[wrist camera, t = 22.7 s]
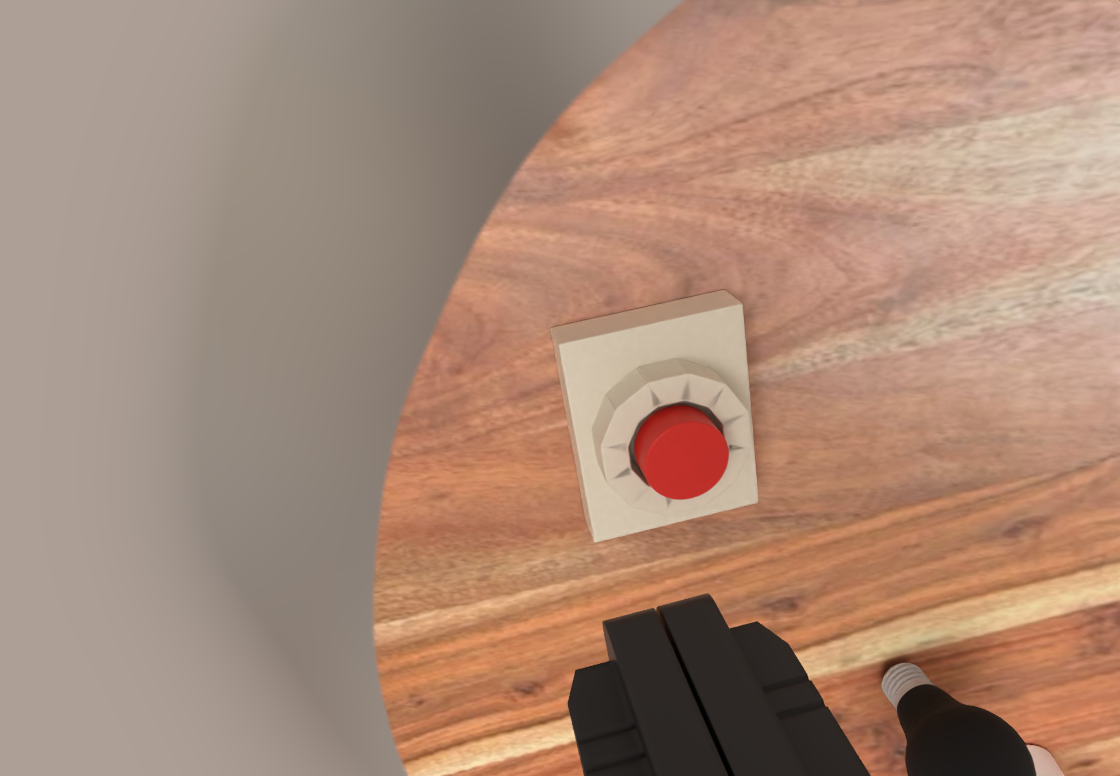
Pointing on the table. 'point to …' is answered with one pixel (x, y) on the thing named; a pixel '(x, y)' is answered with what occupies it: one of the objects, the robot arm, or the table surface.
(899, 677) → the light bulb
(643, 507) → the button block
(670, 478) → the button
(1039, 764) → the cosmetic bottle
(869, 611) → the table surface
